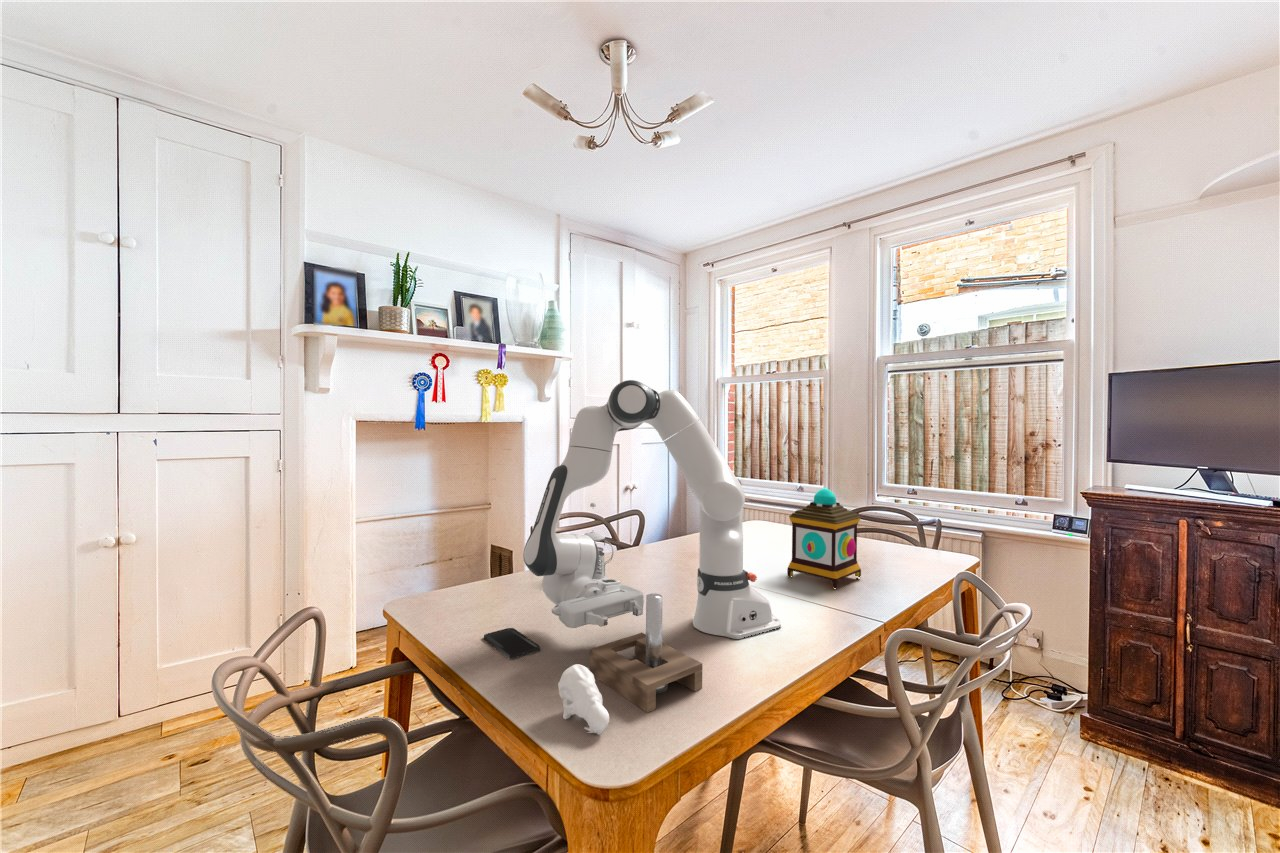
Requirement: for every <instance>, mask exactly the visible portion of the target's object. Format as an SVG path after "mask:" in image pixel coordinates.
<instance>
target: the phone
mask: <svg viewBox="0 0 1280 853" xmlns="http://www.w3.org/2000/svg"><path fill="white" fill-rule="evenodd" d="M483 640H484V641H485V640H486V641H485V642H487V644H489V645H490V644H491V645H490V646H491V647H493V648H494V649H495V648H496V649H495V650H496V651H498V652H499V653H500V652H501V653H500V654H501V655H503V656H504V657H505V658H507V659H508V658H509V659H508V660H515V659H519V658H522V657H525V656H529V655H532V654H536V653H538V652H539V651H540V650H541V646H540V645H539V644H538V643H536V642H534V641H533V640H532V639H530V638H529V637H528V636H526V635H525V634H523V633H522V632H520V631H519V630H517V629H515V628H514V627H507V628H504V629H500V630H495V631H492V632H489V633H485V634H484V635H483Z"/></svg>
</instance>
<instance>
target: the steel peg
mask: <svg viewBox="0 0 1280 853" xmlns="http://www.w3.org/2000/svg"><path fill="white" fill-rule="evenodd" d="M645 600H646V602H645V634H646V663H645V664H646V665H648V666H649V667H651V668H655V667H658V666H660V665H662V643H663V595H662V594H660V593H648V594H646V596H645ZM668 687H669V683H668V684H666V685H663V686H661V687H658V688H656V695H657V694H662V693H665V692H666V691H667V690H668Z"/></svg>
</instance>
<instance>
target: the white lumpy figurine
mask: <svg viewBox="0 0 1280 853" xmlns="http://www.w3.org/2000/svg"><path fill="white" fill-rule="evenodd" d="M557 686H558V694H559V696H560V698H561V700H562V706H563V714H562V717H563V720H569V718H570V717H571V716H574V715H576V716H577V717H578V718H581V719H583V720H584V721H586V723H587V725H588V726H584V728H583V729H584V730H586V731H588V732H586V734H587V733H588V734H597V735H598V736H599V735H601V734H602V733H603V731H604V730H605V729H606V728H607V727H608V725H609V722H610V714H609V712H608V710H607V709H606V708H605V706H604V705H603V695H602V692H600V690H599V688H598V686H597V684H596V677H595V676H594V675H593V673H592V672H590V671H589V667H586V666H585V665H582V664H577V663H575V664H572V665H571V666H570V667H568V668H567V669H565V670H564V671H563V673H562V674H561V676H560V680H559V682H558V683H557Z"/></svg>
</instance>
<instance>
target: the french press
mask: <svg viewBox="0 0 1280 853" xmlns="http://www.w3.org/2000/svg"><path fill="white" fill-rule="evenodd" d="M596 504H597V503H595V502H592V503H590V505H589V506H590V507H591V508H595V507H596V506H597V505H596ZM583 535H589V536H590V537H591V538H592V539H593V540H594V541H595V542H599V541H600V542H601V541H603V540H604V541H603V545H604V546H606V544H608V545H609V546H610V547H611V550H612V552H611V556H610V558H609V559H608V560H605V552H603V551H604V550H605V549H604V548H603V547H601V546H597V547H598V551H599V563H598V567H597V570H596V573H595V575H594V578H593V579H596V580H608V579H607V578H608V576H606V565H607V564H609V563H610V562H611V561H612V560H613V557H614V548H613V546H612V543H611V542H609V541H608V540H605V539H606V536H605V535H604V534H602V533H600V532H598V531H590V532H589V531H588V532H586V533H584V534H583Z"/></svg>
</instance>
